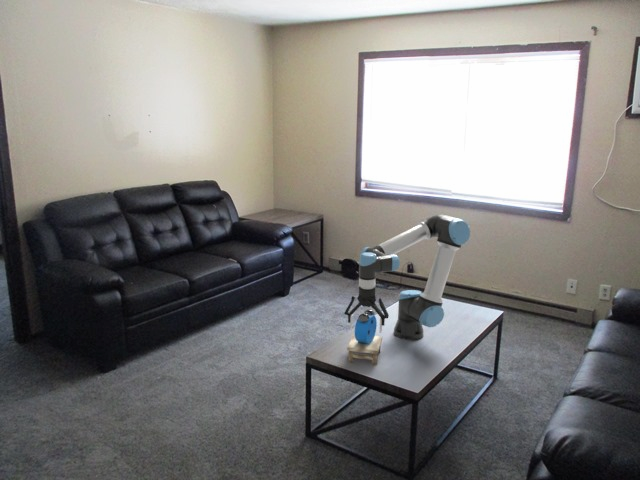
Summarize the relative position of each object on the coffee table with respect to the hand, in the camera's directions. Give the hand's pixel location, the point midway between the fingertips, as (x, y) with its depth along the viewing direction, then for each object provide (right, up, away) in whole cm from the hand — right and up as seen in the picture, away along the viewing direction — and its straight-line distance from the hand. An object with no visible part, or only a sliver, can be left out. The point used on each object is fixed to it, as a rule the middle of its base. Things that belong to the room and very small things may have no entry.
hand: (365, 330), depth 248 cm
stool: (0, -13, +3) cm, 13 cm away
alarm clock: (0, -6, +1) cm, 6 cm away
